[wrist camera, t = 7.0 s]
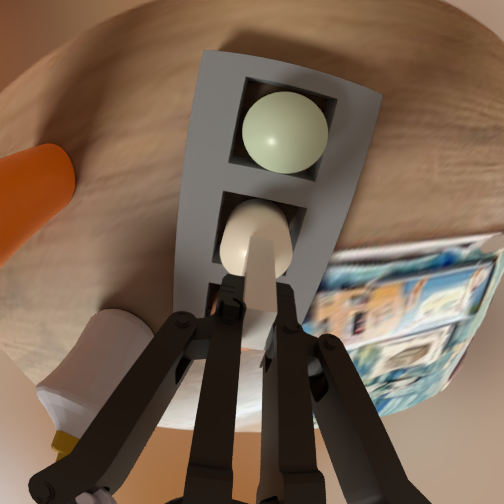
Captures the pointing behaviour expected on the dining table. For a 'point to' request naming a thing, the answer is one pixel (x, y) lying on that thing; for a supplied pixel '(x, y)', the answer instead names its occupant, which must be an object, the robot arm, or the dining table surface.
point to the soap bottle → (91, 374)
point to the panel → (265, 174)
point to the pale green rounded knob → (285, 132)
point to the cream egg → (255, 235)
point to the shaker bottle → (32, 193)
